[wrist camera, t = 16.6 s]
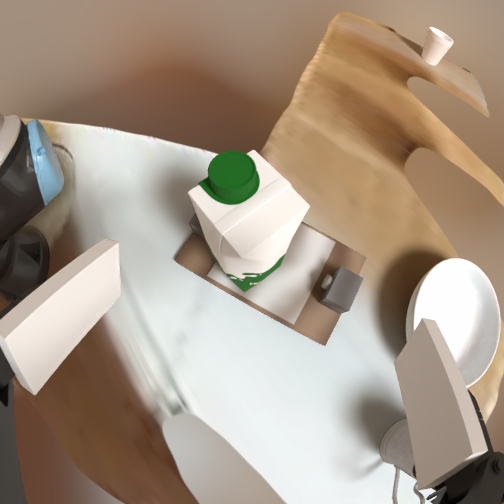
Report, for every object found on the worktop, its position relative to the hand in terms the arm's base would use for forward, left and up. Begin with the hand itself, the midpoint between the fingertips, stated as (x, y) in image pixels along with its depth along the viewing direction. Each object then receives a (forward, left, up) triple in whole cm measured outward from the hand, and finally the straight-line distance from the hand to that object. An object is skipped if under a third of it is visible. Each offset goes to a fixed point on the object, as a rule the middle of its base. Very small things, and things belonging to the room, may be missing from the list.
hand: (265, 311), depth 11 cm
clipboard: (-3, +11, -30) cm, 32 cm away
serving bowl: (+28, +15, -30) cm, 44 cm away
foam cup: (+12, +103, -30) cm, 108 cm away
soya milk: (-6, +9, -28) cm, 30 cm away
